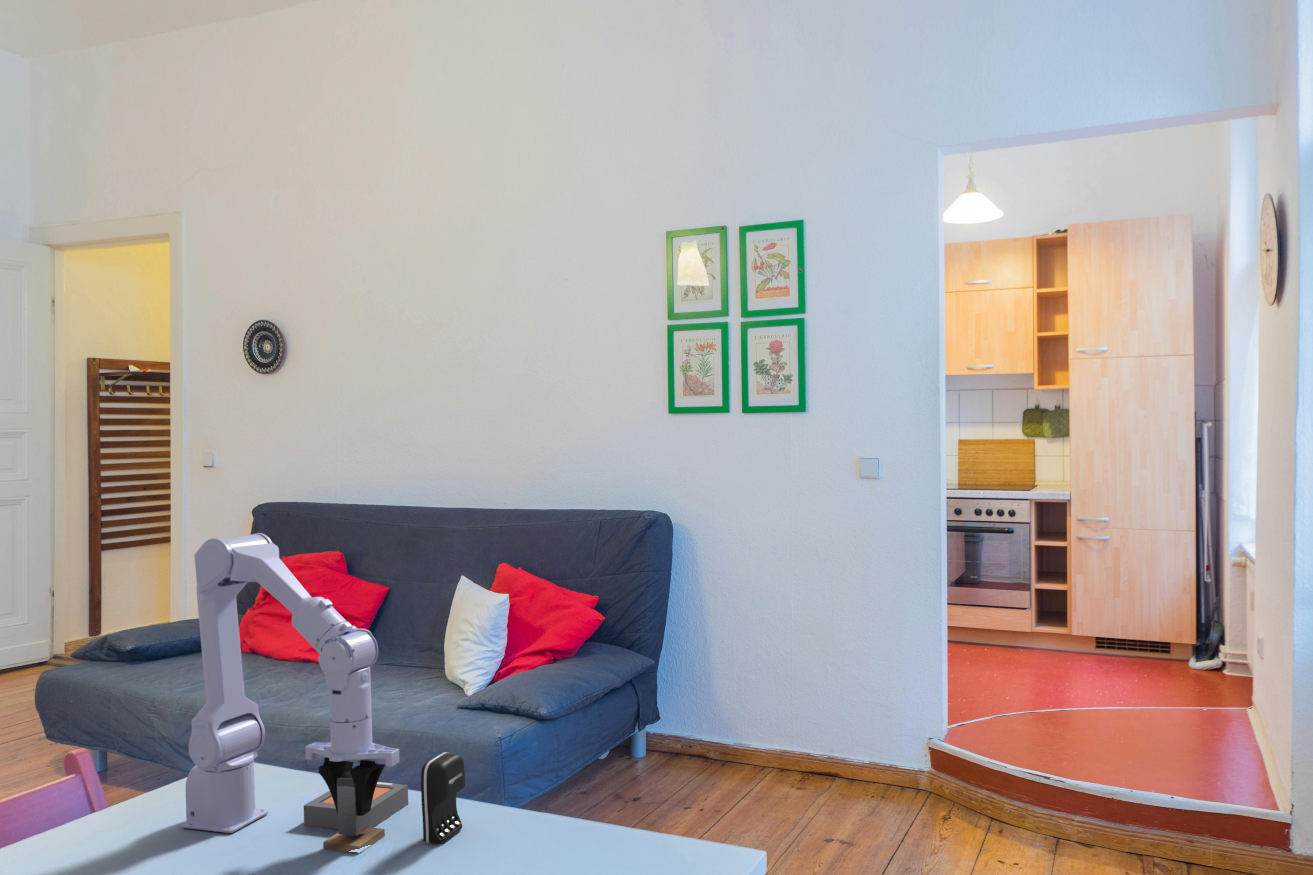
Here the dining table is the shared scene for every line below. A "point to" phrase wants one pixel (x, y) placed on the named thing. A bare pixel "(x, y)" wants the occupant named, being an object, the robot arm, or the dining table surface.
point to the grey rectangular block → (349, 808)
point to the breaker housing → (380, 811)
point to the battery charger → (441, 796)
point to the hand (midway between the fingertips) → (353, 811)
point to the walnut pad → (353, 840)
